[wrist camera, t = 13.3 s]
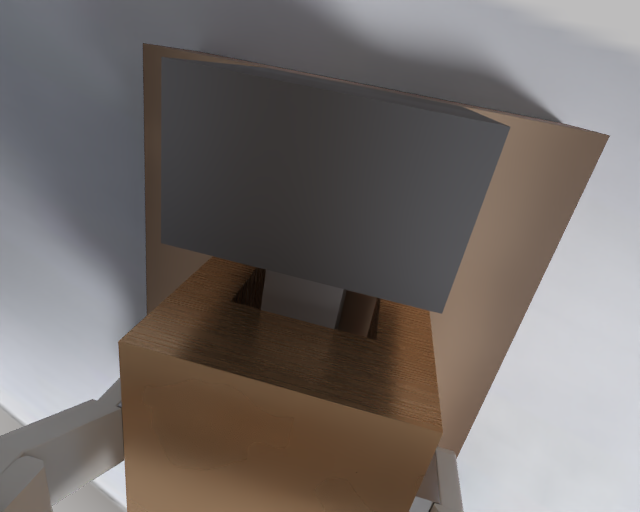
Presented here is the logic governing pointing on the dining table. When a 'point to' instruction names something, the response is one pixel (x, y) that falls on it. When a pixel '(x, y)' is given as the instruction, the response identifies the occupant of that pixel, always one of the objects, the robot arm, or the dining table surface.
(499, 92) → the dining table surface
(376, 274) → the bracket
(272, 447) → the slotted cardboard block
